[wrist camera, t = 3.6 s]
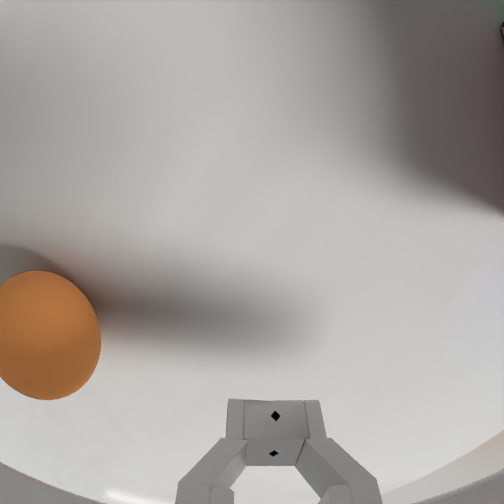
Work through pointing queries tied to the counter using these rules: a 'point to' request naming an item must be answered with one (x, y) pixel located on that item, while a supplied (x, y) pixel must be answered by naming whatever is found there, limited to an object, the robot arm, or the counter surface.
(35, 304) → the ball
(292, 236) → the counter surface
